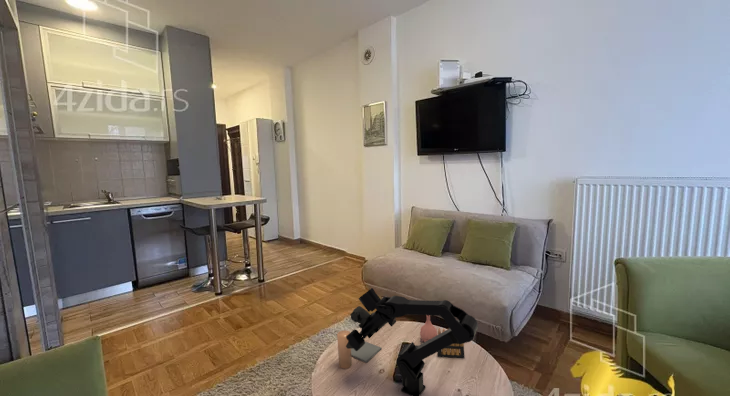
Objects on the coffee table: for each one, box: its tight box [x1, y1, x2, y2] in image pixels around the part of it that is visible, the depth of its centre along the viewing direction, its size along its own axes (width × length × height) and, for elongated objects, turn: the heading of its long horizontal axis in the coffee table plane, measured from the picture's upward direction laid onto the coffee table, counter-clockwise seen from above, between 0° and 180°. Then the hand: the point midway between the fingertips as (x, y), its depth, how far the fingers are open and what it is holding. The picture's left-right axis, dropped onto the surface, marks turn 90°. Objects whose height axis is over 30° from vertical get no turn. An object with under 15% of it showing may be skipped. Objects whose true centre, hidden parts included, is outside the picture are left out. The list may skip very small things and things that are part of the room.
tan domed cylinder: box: [336, 330, 353, 370], centre depth 120 cm, size 5×5×13 cm
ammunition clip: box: [436, 327, 466, 360], centre depth 123 cm, size 11×2×12 cm, turn 81°
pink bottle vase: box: [419, 315, 438, 343], centre depth 134 cm, size 8×8×12 cm
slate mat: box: [351, 340, 382, 364], centre depth 129 cm, size 11×11×1 cm
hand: (353, 341), depth 118 cm, fingers open, 9 cm apart
